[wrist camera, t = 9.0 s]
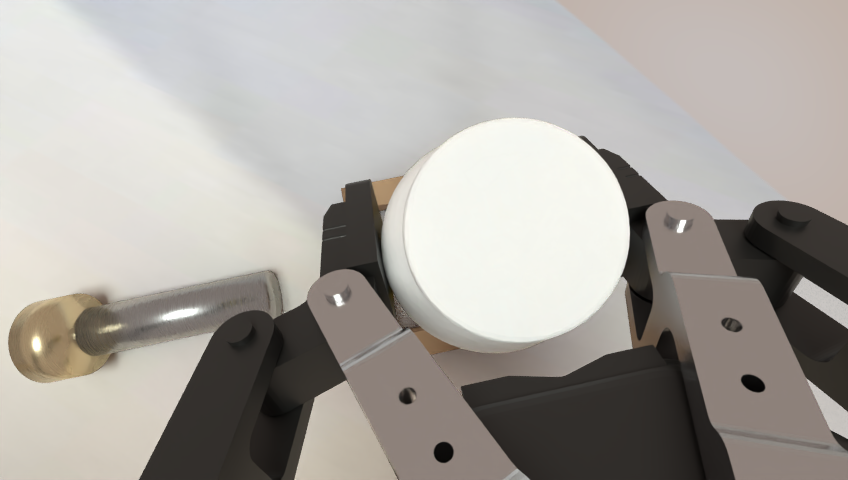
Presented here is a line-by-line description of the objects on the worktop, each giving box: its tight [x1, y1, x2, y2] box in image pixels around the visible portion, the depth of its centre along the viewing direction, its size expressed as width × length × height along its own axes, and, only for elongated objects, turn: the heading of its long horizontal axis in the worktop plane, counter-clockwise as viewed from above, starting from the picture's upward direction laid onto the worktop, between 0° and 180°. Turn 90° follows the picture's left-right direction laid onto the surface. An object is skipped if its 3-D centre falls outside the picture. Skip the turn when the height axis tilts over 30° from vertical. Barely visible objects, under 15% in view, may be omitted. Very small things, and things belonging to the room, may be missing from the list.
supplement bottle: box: [381, 118, 630, 353], centre depth 12 cm, size 5×5×10 cm
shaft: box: [8, 271, 282, 383], centre depth 24 cm, size 14×5×5 cm, turn 102°
